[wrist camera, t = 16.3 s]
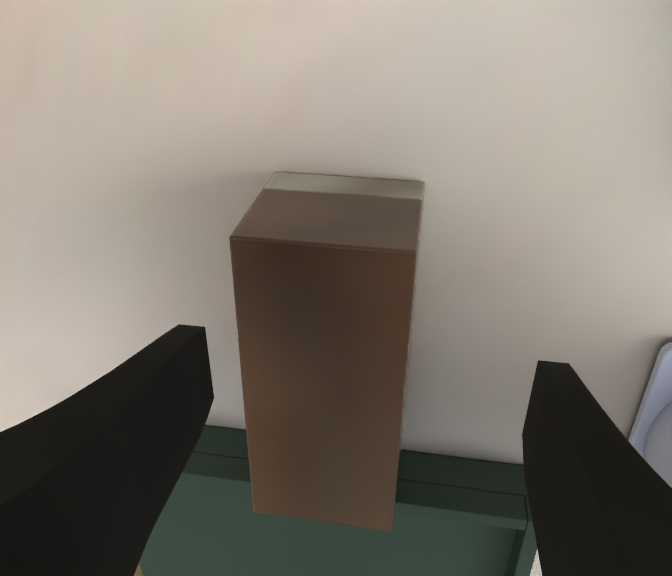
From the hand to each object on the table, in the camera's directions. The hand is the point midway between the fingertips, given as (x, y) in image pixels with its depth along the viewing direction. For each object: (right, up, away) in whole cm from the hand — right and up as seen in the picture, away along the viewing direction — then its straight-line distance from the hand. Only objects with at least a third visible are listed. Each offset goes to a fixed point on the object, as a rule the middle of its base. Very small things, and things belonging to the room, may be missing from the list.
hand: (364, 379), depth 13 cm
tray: (-1, -11, +17) cm, 21 cm away
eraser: (0, +1, +10) cm, 10 cm away
